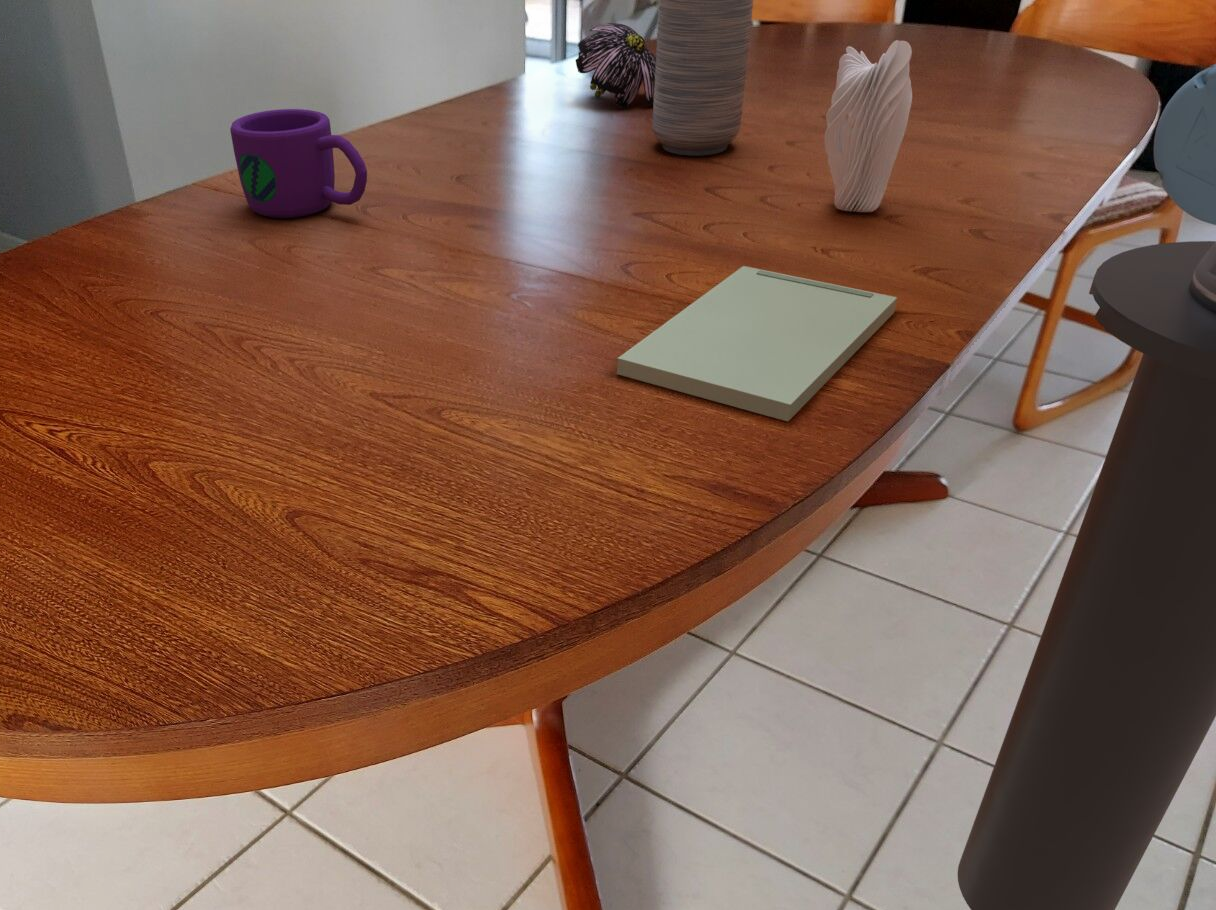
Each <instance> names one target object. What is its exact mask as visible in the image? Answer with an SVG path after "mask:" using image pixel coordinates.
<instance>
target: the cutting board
mask: <svg viewBox="0 0 1216 910" xmlns="http://www.w3.org/2000/svg"><path fill="white" fill-rule="evenodd" d="M897 302H898V297H897V296H894V295H893V296H892V295H889V294H883V293H878V292H873V291H868V290H863V289H859V288H853V287H849V286H845V285H844V286H843V285H839V284H834V283H829V282H825V281H821V280H820V281H819V280H816V279H815V280H814V279H809V278H804V277H799V276H794V275H790V274H786V273H780V272H775V271H770V270H765V269H761V268H756V267H751V266H746V265H742V266H741V267H739V268H738V269H737V270H736V271H734V272H733V273H731V274H730V275H729V276H727V277H726V278H725V279H724V280H722V281H721V282H719V283H718V284H717V285H715V286H714V287H713V288H711V289H709V290H708V291H707V292H706V293H704V294H703V295H701V296H699V298H698V299H696V300H694V301H693V302H692V303H690V304H689V305H688V306H686V307H685V308H684V309H682V310H681V311H679V312H678V313H677V314H676V315H674V316H673V317H671V318H670V319H669V320H667V321H666V322H665V323H664V324H662V325H660V327H658V328H656V329H655V330H654V331H652V332H651V333H649V334H648V335H647V336H646V337H644V338H643V339H641V340H640V341H639V342H637V343H636V344H635V345H633V346H632V347H630V348H629V349H628V350H627V351H625V352H624V353H623V354H621V355H620V356H618V357H617V362H616V363H617V365H616V375H618V376H622V377H625V378H629V379H632V380H636V381H640V382H643V383H647V384H651V385H655V386H658V387H661V388H665V389H668V390H672V391H675V392H680V393H683V394H687V395H691V396H693V397H697V398H701V399H705V400H708V401H712V402H715V403H719V404H723V405H726V406H730V407H734V408H737V409H740V410H744V411H748V412H752V413H755V414H759V415H763V416H766V417H770V418H773V419H776V420H781V421H785V422H788V423H789V422H790V420H791V419H792V418H793V417H794V416H795V415H796V414H797V413H798V412H800V410H801V409H802V408H803V407H804V406H805V405H806V404H807V403H808V402H810V400H811V399H812V398H813V397H814V396H815V395H816V394H817V393H818V392H819V391H820V389H822V387H824V386H825V384H826V383H827V382H828V381H830V379H832V377H834V375H835V374H836V373H837V372H838V371H839V370H840V369H841V368H842V367H843V366H844V365H845V364H846V363H847V362H848V361H849V360H850V359H851V358H852V357H853V356H854V355H855V354H856V353H857V352H858V351H859V349H861V348H862V347H863V345H864V344H865V343H866V342H867V341H868V340H869V339H870V338H871V337H872V336H873V335H874V334H875V333H876V332H877V331H879V330H880V328H881V327H882V326H883V325H884V324H885V323H886V322H887V321H888V320H889V319H890V318H891V317H892V316H893V315H894V313H895V312H896V308H897V307H896V306H897Z"/></svg>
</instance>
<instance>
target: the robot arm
mask: <svg viewBox="0 0 1216 910" xmlns="http://www.w3.org/2000/svg"><path fill="white" fill-rule="evenodd" d="M1153 161H1154V166H1155V169H1156V170H1157V171H1158V174H1159V178H1160V180H1161V187H1162V188H1163V189H1164V191H1165V193H1166V194H1167V196H1168V198H1169V199H1171V201H1172V202H1173V203H1174V204H1175V205H1176V206H1177V207H1178V208H1179V209H1181V210H1182V211H1183V212H1185V213H1186V214H1187V215H1188V216H1191V217H1193V218H1194V219H1197V220H1198V221H1201V222H1203V223H1207V224H1211V225H1215V226H1216V63H1214V64H1213V65H1211V66H1209V67H1207V68H1205V69H1203V70H1201V71H1199V72H1198V73H1196V74H1195V75H1194V76H1193V77H1192V78H1190V79H1189V80H1188V81H1186V82H1185V83H1184V84H1182V86H1181V87H1180V88H1179V89H1177V91H1176V92H1175V93H1173V96H1171V98H1170V99H1169V101H1167V104H1166V105H1165V107H1164V108H1163V110H1162V113H1161V115H1160V117H1159V120H1158V122H1157V125H1156V129H1155V133H1154V138H1153ZM1189 291H1190V293H1191V295H1192V296H1193V297H1194V298H1195V299H1196V300H1197V301H1198V302H1199V303H1200V304H1202V305H1203V306H1205V307H1206V308H1208V309H1210V310H1212V311H1214V312H1216V242H1215V243H1214V244H1213V245H1212V247H1211V248H1210V249H1209V250H1208V252H1207V253H1206V254H1205V255H1204V257H1203V258H1202V259H1201V261H1200V262H1199V264H1198V266H1197V268H1196V269H1195V271H1194V274H1193V276H1192V279H1191V282H1190V285H1189Z"/></svg>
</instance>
